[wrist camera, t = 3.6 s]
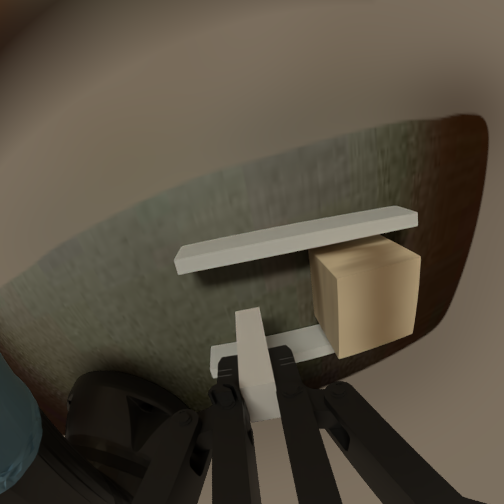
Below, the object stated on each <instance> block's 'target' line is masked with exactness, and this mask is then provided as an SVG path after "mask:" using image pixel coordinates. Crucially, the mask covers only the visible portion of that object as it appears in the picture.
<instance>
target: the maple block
mask: <svg viewBox="0 0 504 504" xmlns="http://www.w3.org/2000/svg"><path fill="white" fill-rule="evenodd" d="M308 254H309V263H310V272H311V282H312V293H313V304H314V315H315V317H316V319H317V321H318V322H319V324H320V326H321V328H322V330H323V331H324V333H325V335H326V337H327V339H328V340H329V342H330V344H331V346H332V348H333V350H334V351H335V353H336V355H337V357H338V359H341V358H344V357H348V356H351V355H354V354H357V353H360V352H363V351H366V350H369V349H372V348H375V347H378V346H381V345H384V344H386V343H389V342H392V341H394V340H397V339H400V338H402V337H405V336H407V335H410V334H412V333H413V327H414V321H415V314H416V306H417V298H418V288H419V277H420V262H421V257H420V256H419V255H417V254H415V253H413V252H412V251H410V250H408V249H406V248H404V247H402V246H401V245H399V244H397V243H395V242H393V241H391V240H389V239H387V238H385V237H384V236H382V235H380V234H377V235H373V236H368V237H363V238H358V239H354V240H349V241H344V242H339V243H334V244H330V245H325V246H320V247H315V248H310V249H308Z"/></svg>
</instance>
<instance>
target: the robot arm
mask: <svg viewBox="0 0 504 504" xmlns="http://www.w3.org/2000/svg"><path fill="white" fill-rule="evenodd" d="M235 316H236V336H237V354H238V355H232V356H226V357H222V358H221V359H220V361H219V363H218V373H217V376H218V377H217V384H216V385H214V386H212V388H211V389H210V390H209V393H208V395H209V397H210V399H211V402H212V404H213V405H212V406H211V407H209V408H208V409H205V410H203V411H200V412H197V413H196V412H195V411H194V410H191V409H188V407H187V406H186V405H185V404H184V403H183V402H181V401H180V400H179V399H178V398H177V397H175V396H174V395H172V394H171V393H169V392H168V391H166V390H165V389H163V388H161V387H159V386H157V385H155V384H153V383H151V382H149V381H146V380H144V379H141V378H138V377H135V376H132V375H129V374H125V373H120V372H114V371H93V372H89V373H86V374H84V375H82V376H80V377H79V378H78V379H77V381H76V382H75V384H74V386H73V388H72V389H71V391H70V393H69V396H68V400H67V409H68V414H67V420H66V433H65V437H64V436H63V435H62V434H61V433H60V432H59V431H58V430H57V428H56V427H55V426H54V425H53V424H52V423H51V421H50V420H49V419H48V418H47V416H46V415H45V414H44V413H43V411H42V410H41V409H40V408H39V406H38V404H37V402H36V400H35V399H34V398H33V396H32V394H31V392H30V390H29V389H28V388H27V386H26V385H25V384H24V383H23V382H22V381H21V380H20V379H19V378H18V377H17V376H16V375H15V374H14V373H13V372H12V370H11V369H10V367H9V366H8V364H7V363H6V361H5V360H4V358H3V357H2V355H1V353H0V504H197V503H198V500H199V496H200V494H201V490H202V487H203V484H204V481H205V478H206V475H207V471H208V469H209V465H210V462H211V459H212V504H261V497H260V489H259V481H258V473H257V464H256V456H255V447H254V439H253V431H252V428H251V424H250V420H251V422H258V421H264V420H270V419H274V418H280V417H281V420H282V425H283V429H284V434H285V439H286V444H287V449H288V454H289V459H290V463H291V468H292V473H293V478H294V483H295V487H296V492H297V496H298V501H299V504H342V501H341V498H340V494H339V491H338V488H337V485H336V481H335V479H334V475H333V472H332V469H331V466H330V463H329V459H328V457H327V453H326V450H325V447H324V444H323V440H322V437H321V434H320V431H319V429H325V430H326V431H327V432H328V434H329V435H330V436H331V438H332V439H333V440H334V442H335V443H336V444H337V446H338V447H339V448H340V450H341V451H342V452H343V454H344V455H345V456H346V458H347V459H348V460H349V462H350V463H351V464H352V466H353V467H354V468H355V469H356V471H357V472H358V473H359V475H360V476H361V477H362V478H363V480H364V481H365V482H366V483H367V485H368V486H369V487H370V488H371V490H372V491H373V492H374V493H375V494H376V496H377V497H378V498H379V499H380V501H381V502H382V503H383V504H486V503H483V502H479V501H475V500H472V499H468V498H465V497H462V496H461V495H460V494H459V493H458V492H457V491H456V490H455V489H454V488H453V487H452V486H451V485H450V484H449V483H448V482H447V481H446V480H445V479H444V478H443V477H441V476H440V475H439V474H438V473H437V472H436V471H435V470H434V469H433V468H432V467H431V466H430V465H429V464H428V463H427V462H426V461H425V460H424V459H423V458H422V457H421V456H420V455H419V454H418V453H417V452H416V451H415V450H414V449H413V448H412V447H411V446H410V445H409V444H408V443H407V442H406V441H405V440H404V439H403V438H402V437H401V436H400V435H399V434H398V433H397V432H396V431H395V430H394V429H393V428H392V427H391V426H390V425H389V424H388V423H387V422H386V421H385V420H384V419H383V418H382V417H381V416H380V414H379V413H378V412H377V411H376V410H375V409H374V408H373V407H372V406H371V405H370V404H369V403H368V402H367V401H366V400H365V399H364V398H363V397H362V396H361V395H360V394H359V393H358V392H357V391H356V390H355V389H354V388H353V387H352V385H350V384H349V383H347V382H343V381H338V382H334V383H331V384H330V385H328V386H327V387H326V388H325V389H311V388H308V387H307V386H305V385H304V384H303V383H302V381H301V378H300V375H299V371H298V368H297V365H296V363H295V359H294V356H293V353H292V350H291V349H290V348H289V347H288V346H287V345H282V346H277V347H273V348H268V347H267V343H266V338H265V333H264V328H263V323H262V319H261V314H260V309H259V307H257V308H252V309H247V310H241V311H236V312H235Z"/></svg>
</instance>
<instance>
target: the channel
mask: <svg viewBox="0 0 504 504" xmlns="http://www.w3.org/2000/svg"><path fill="white" fill-rule="evenodd" d="M415 226H418V212H415V211H412V210H408V209H405V208H402V207H399V206H390V207H384V208H378V209H372V210H367V211H361V212H355V213H349V214H344V215H338V216H333V217H327V218H321V219H316V220H311V221H305V222H300V223H294V224H289V225H284V226H279V227H273V228H268V229H263V230H258V231H253V232H248V233H243V234H238V235H233V236H228V237H223V238H218V239H213V240H208V241H203V242H198V243H194V244H189V245H184V246H181V248H180V250H179V252H178V253H177V255H176V257H175V259H174V262H175V266H176V269H177V272H178V275H180V274H185V273H190V272H195V271H201V270H206V269H211V268H216V267H221V266H226V265H231V264H236V263H241V262H246V261H251V260H256V259H261V258H266V257H271V256H276V255H281V254H286V253H291V252H296V251H300V250H305V249H310V248H315V247H320V246H325V245H330V244H334V243H339V242H344V241H349V240H354V239H358V238H363V237H368V236H373V235H377V234H382V233H387V232H391V231H396V230H401V229H405V228H410V227H415ZM265 338H266V343H267V347H268V348H273V347H277V346H282V345H287V346H288V347H289V348H290V349H291V350H292V353H293V356H294V359H295V363H298V362H302V361H306V360H310V359H314V358H317V357H321V356H325V355H328V354H332V353H335V351H334V350H333V348H332V346H331V344H330V342H329V340H328V339H327V337H326V335H325V333H324V331H323V330H322V328H321V326H320V324H318V325H314V326H310V327H305V328H301V329H297V330H293V331H288V332H284V333H279V334H275V335H270V336H265ZM232 355H238V354H237V342H234V343H228V344H222V345H216V346H211V359H210V371H211V374H212V376H213V378H217V377H218V376H217V373H218V363H219V361H220V359H221V358H222V357H226V356H232Z"/></svg>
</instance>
